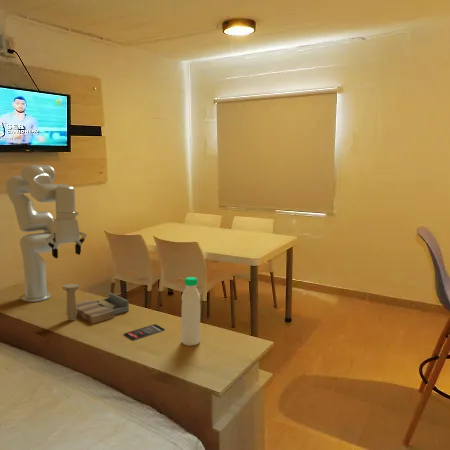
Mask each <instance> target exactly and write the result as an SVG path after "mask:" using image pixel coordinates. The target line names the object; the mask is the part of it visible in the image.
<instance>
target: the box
mask: <svg viewBox="0 0 450 450" xmlns="http://www.w3.org/2000/svg"><path fill="white" fill-rule="evenodd" d="M101 299H102V300H104V301H106V302H108V303H110V304H112V305H114V308H113V309H111V310H113V311H114V317H115V316H117V315H121V314H124V313H128V312H129V300H128V299H126V298H123V297H121V296H118V295H116V294H115V293H112V292H108V297H106V298H101ZM94 301H95V302H97V303H98V302H99V301H100V299H99V300H94ZM99 304H100V303H99ZM101 305H102V304H101ZM103 306H104V305H103ZM105 307H106V306H105ZM107 308H108V307H107ZM109 309H110V308H109Z"/></svg>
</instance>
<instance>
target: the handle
mask: <svg viewBox="0 0 450 450" xmlns="http://www.w3.org/2000/svg"><path fill="white" fill-rule="evenodd" d="M78 289H80V287H79V284H76V283H66V284H63V285H62V290H64V291H65V292H66V314H67V320H68V321H70V322H73V321H75V320H77V305H76V303H77V299H76V296H77V295H76V291H77V290H78Z"/></svg>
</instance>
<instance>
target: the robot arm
mask: <svg viewBox="0 0 450 450" xmlns="http://www.w3.org/2000/svg"><path fill="white" fill-rule="evenodd" d="M55 179H56V171H55V169H54V168H53V166H51V165H50V164H27V165H25V166H23V167H22V168H21V170H20V174H19V175H13V176H9V178H7V179H6V182H5V189H6V193H7V196H8V198H9V200H10V201H11V203H12V205H13V208H14V212H15V215H16V220H17V223H18V224H17V225H18V227H19V229H20V231H21V232H23V233H29V234H26V235H23V236H22V237H21V238H20V240H19V247H20V252H21V254H22V255H21V256H22V261H23V262H22V263H23V279H24V293H25V294H23V295H22V297H21V300H22V301H23V302H29V303H33V302H35V303H36V302H42V301H45V300H47V299H48V300H49V298H51V293H50V292H49V291H47V273H46V271H47V270H46V261H45V259H44V258H43V257H42V256H41V255H40V254H42V253H48V252H51V255H52V257H53V258H54V259H58V257H59V251H58V249H59V247H60V245H63V244H69V243H75V244H74V245H75V246H74V249H75V251H74V252H75V254H76V255H79V256H80V255H81V253H82V245H83V243H84V242H85V240H86V237H87V234H86V233H84V232H82V231H80V227H79V222H78V218H77V216H79V211H76V191H75V190H76V189H75V187H74V186H72V185H68V184H66V183H54V181H55ZM26 194H30V196H31V198H33V199H34V200H35V201H37V202H39V203H52V202H53V203H54V202H55V218H54V216H53V214H52V213H51V212H49V211H46V210H45V211H44V210H42V211H41V210H40V211H36V210H35V206H34V202H33V200H31V199H30V198H29V197H28V196H27V195H26ZM33 232H34V233H33ZM35 232H37V233H35ZM80 236H81V237H80Z"/></svg>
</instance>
